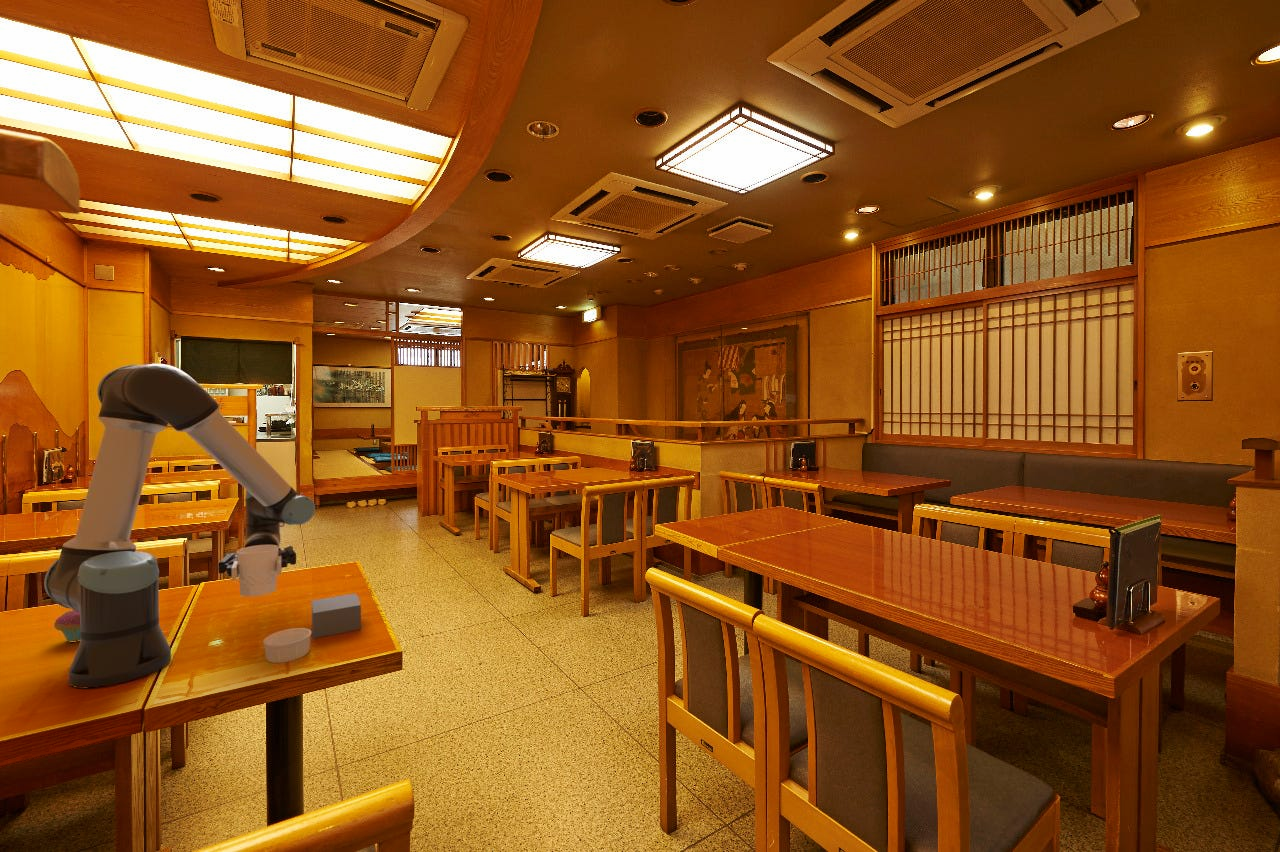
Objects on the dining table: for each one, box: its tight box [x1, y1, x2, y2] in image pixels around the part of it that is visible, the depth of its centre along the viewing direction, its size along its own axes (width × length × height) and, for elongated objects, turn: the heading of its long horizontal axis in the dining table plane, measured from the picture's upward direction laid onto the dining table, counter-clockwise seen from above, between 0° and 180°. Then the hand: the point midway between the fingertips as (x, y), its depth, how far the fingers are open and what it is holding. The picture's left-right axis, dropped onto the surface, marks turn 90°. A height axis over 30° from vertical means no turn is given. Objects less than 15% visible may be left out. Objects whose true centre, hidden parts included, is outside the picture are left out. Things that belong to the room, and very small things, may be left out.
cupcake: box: [53, 609, 81, 641], centre depth 126 cm, size 9×8×12 cm
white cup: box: [236, 545, 280, 598], centre depth 124 cm, size 8×8×10 cm
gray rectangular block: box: [311, 593, 362, 639], centre depth 133 cm, size 10×10×6 cm
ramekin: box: [262, 627, 313, 664], centre depth 118 cm, size 9×9×4 cm
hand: (256, 571), depth 120 cm, fingers closed on white cup, 7 cm apart
